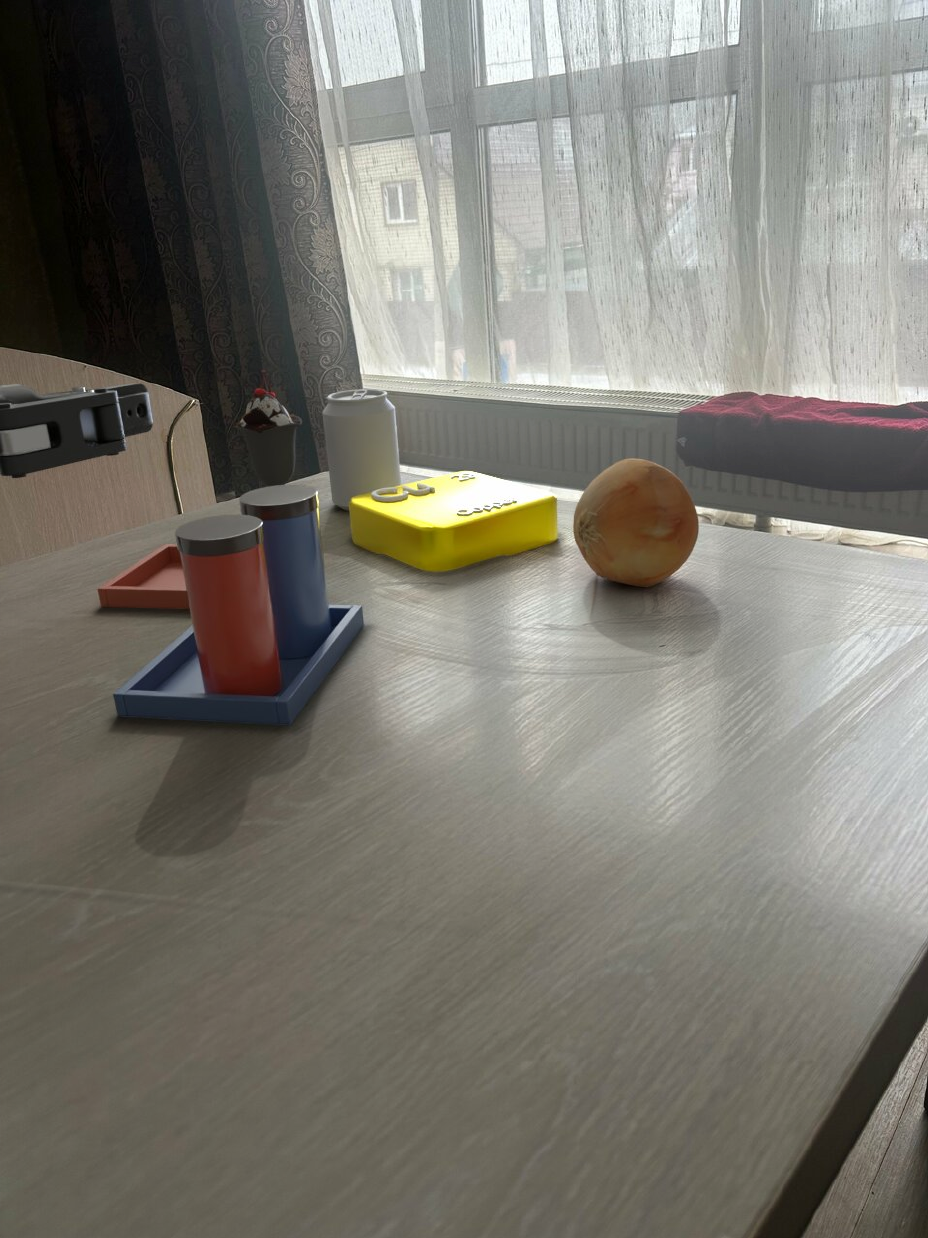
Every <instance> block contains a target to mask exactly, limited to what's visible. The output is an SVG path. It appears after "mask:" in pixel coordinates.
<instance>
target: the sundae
mask: <svg viewBox="0 0 928 1238" xmlns="http://www.w3.org/2000/svg"><path fill="white" fill-rule="evenodd" d="M260 373H261V375H262V382H261V385H260V386H259V387H258V388H256V389H254V392H253V393H254V395H253V397H252V398H251V399H250V400H249V401H248V402H247V406H246V409H245V413H243V415H242V416H241V418H240V419H241V420H240V421H238V422H237V423H236V425H235V426H234V428H235V429H237V430H239V431H240V432H241V434H242V437H243V439H244V441H245V444H246V448H247V452H248V455H249V459H250V463H251V466H252V469H253V472H254V474H255V477H256V478H258V479H259V481H261V482H262V484H265V485H267V487H269V486H277V485H287V483H288V482H289V481H290V480H291V478H292V477H293V475H294V474H295V466H296V435H297V428H299V427H300V426H302V425H303V420H302V418H301V417H300V416H297V415H295V414H294V413H292V414H289V412H288V411H287V409H286V408H285V407H284V405H282V404H281V403H280V402H279V401H278V400H277V399H276V394H275V392H272V389H271V385H270V383H269V380H268V378H267V377H266V375H265V374H266V373H267V372H266V370H265V369H261V370H260ZM265 381H266V385H267V388H268V391H266V390H265V389H264V388H263V386H264V383H265Z"/></svg>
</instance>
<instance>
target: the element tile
mask: <svg viewBox="0 0 928 1238" xmlns="http://www.w3.org/2000/svg"><path fill="white" fill-rule="evenodd" d="M348 512H349V521H350V530H351V531H350V532H351V538H352V542H353V544H354V545H355V546H358V547H360V548H362V549H365V550H367V551H369V552H372V553H374V554H375V555H378V554H379V555H385V556H387V557H390V558H392V559H394V560H397V561H399V562H401V563H404V564H407V565H409V566H411V567H414V568H415V569H418V570H420V571H423V572H424V571H425V572H431V573H432V572H434V573H435V572H436V573H438V572H440V573H441V572H448V571H452V570H456V569H460V568H463V567H467V566H469V565H473V564H477V563H481V562H483V561H487V560H489V559H493V558H496V557H500V556H510V557H511V556H514V555H518V554H521V553H524V552H528V551H530V550H531V551H532V550H534V549H537V548H540V547H544V546H546V545H551V544H552V543H553V544H554V542H555V541H557V539H558V535H559V533H558V532H559V531H558V530H559V529H558V526H559V525H558V497H557V495H556V494H554V493H553V492H550V491H546V490H543V489H538V488H535V487H531V486H527V485H523V484H520V483H516V482H512V481H510V480H505V479H501V478H497V477H495V476H494V477H493V476H491V475H487V474H483V473H479V472H474V471H470V470H463V471H457V472H452V473H448V474H444V475H439V476H434V477H432V478H427V479H422V480H419V481H414V482H409V483H405V484H401V486H397V487H392V488H382V489H378V490H375V491H373V492H371V493H367V494H362V495H358V496H355V497H352V498H351V500H350V501H349V511H348Z"/></svg>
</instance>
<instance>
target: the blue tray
mask: <svg viewBox="0 0 928 1238" xmlns="http://www.w3.org/2000/svg"><path fill="white" fill-rule="evenodd" d="M329 607H330V615H331V624H332V633H331V634H330V635H329V636H328V638H327V639H326V640H325V641H324V643H323V644H322V645H321V646H320V648H319V649H318V650H317V651H316V653H315V654H314V655H312V656H309V657H304V658H296V659H281V658H280V662H281V669H282V676H283V687H282V689H281V691H280V692H279V693H278V694H277V695H275V696H274V697H272V696H250V695H228V694H206V693H205V692H204V687H203V681H202V675H201V670H200V664H199V658H198V653H197V647H196V641H195V636H194V630H193V624H191V626H190V627H188V628H187V629H186V630H185V631H184V632H183V633H181V634H180V635H179V636H178V637H177V638H175V639H174V640H173V641H172V642H171V643H170V644H169V645H167V646H166V647H165V648H164V649H163V650H162V651H161V652H160V653H159V654H158V655H156V656H154V658H153V659H151V661H149V662H148V663H147V664H146V665H145V666H144V667H142V668H141V669H140V670H139V671H138V672H137V673H135V674H134V675H133V676H132V677H131V678H130V679H129V680H128V681H126V682H125V683H124V684H123V685H121V687H119V688H118V689H117V690H116V691H115V692H114V693H112V694H113V695H112V697H113V701H114V706H115V710H116V715H117V717H123V718H141V719H142V718H145V719H161V720H163V719H164V720H181V721H183V720H184V721H201V722H219V723H220V722H221V723H239V724H240V723H241V724H259V725H278V726H279V725H281V726H290V725H291V724H293V722H294V720H295V719H296V718H297V716H298V715H299V713H301V711H302V709H303V708H304V707H305V705H306V704H307V703H308V702H309V700H310V699H311V698H312V696H313V694H314V693H315V692H316V690H317V689H318V688H319V686H320V685H321V684H322V682H323V681H324V680H325V678H326V677H327V676H328V674H329V673H330V672H331V671H332V669H333V667H334V666H335V665H336V664H337V662H338V661H339V659H340V658H341V657H342V655H343V654H344V653H345V652H346V650H347V648H349V646H350V644H351V643H352V641H353V640H354V639H355V638H356V636H357V635H358V634H359V632H360V631H361V630H362V628H363V627H364V625H365V621H364V611H363V605H355V604H354V605H353V604H352V605H351V604H329Z"/></svg>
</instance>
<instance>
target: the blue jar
mask: <svg viewBox="0 0 928 1238" xmlns="http://www.w3.org/2000/svg"><path fill="white" fill-rule="evenodd" d="M238 501H239V508H240V515H249V516H254V517H257V518H259V519H261V520H262V522H263V529H264V536H265V537H264V540H263V541H264V548H265V555H266V562H267V570H268V577H269V584H270V591H271V598H272V605H273V612H274V619H275V626H276V634H277V641H278V648H279V655H280V658H281V659H296V658H304V657H309V656H312V655H314V654H315V653H316V651H317V650H318V649H319V648H320V646H321V645H322V644H323V643H324V641H325V640H326V639H327V638H328V636H329V635H330V634H331V633H332V624H331V615H330V607H329V605H330V600H329V589H328V581H327V574H326V564H325V556H324V547H323V538H322V531H321V521H320V513H319V507H320V502H319V492H318V489H317V488H315V487H314V486H310V485H304V484H285V485H277V486H264V487H260V488H256V489H252V490H249V491H247V492H245V493H243V494H242V495H240V496H239V498H238Z"/></svg>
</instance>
